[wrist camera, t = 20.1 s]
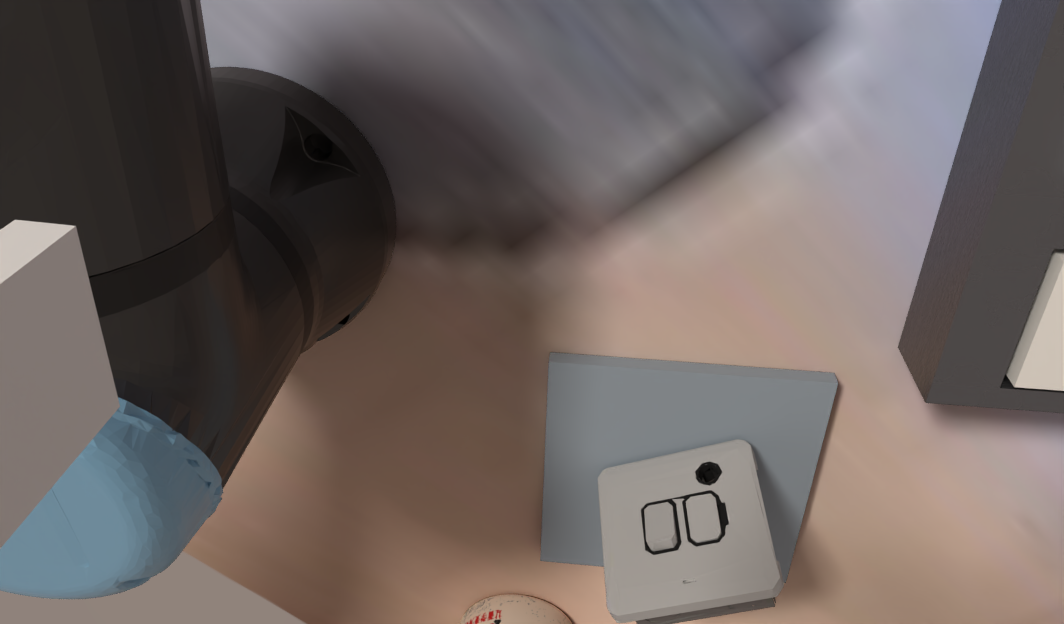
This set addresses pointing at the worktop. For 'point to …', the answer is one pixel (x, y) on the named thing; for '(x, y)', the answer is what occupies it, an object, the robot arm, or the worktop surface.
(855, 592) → the worktop surface
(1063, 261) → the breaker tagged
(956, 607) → the worktop surface
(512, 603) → the teacup with lid
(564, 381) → the pad
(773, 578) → the electrical switch
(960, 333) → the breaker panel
